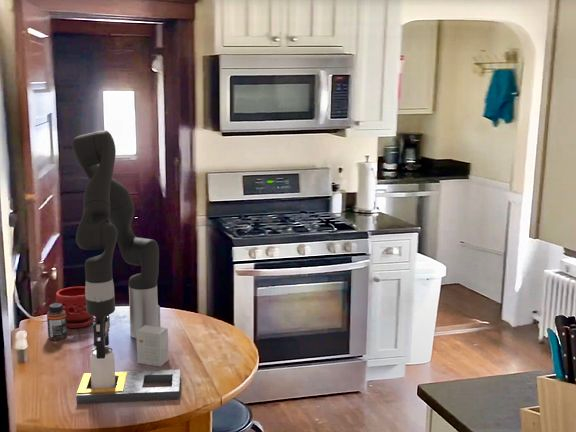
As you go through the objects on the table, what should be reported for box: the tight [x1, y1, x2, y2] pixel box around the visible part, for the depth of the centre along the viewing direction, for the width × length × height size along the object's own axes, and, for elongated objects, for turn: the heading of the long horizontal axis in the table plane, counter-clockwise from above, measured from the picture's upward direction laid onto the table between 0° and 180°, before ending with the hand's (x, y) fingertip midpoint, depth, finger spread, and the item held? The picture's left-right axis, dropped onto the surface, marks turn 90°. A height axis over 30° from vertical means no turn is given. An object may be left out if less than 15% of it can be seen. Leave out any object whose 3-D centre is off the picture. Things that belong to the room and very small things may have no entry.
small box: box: [135, 325, 170, 367], centre depth 214 cm, size 8×6×10 cm
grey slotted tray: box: [75, 369, 181, 405], centre depth 196 cm, size 27×14×3 cm, turn 97°
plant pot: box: [55, 286, 95, 329], centre depth 245 cm, size 13×13×12 cm
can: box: [89, 346, 116, 389], centre depth 194 cm, size 6×6×12 cm
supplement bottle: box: [46, 302, 68, 341], centre depth 232 cm, size 6×6×11 cm
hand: (103, 351), depth 193 cm, fingers open, 8 cm apart
